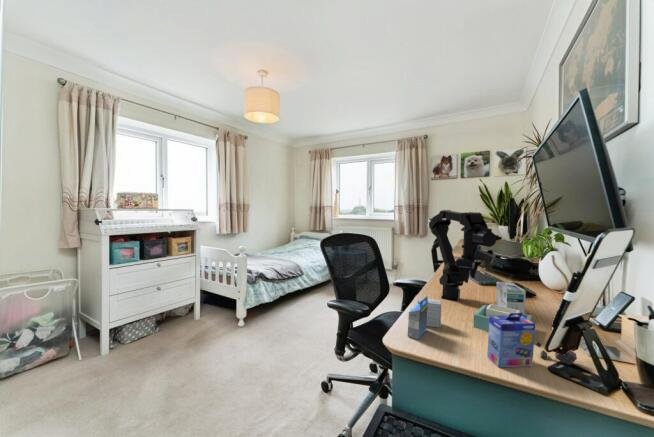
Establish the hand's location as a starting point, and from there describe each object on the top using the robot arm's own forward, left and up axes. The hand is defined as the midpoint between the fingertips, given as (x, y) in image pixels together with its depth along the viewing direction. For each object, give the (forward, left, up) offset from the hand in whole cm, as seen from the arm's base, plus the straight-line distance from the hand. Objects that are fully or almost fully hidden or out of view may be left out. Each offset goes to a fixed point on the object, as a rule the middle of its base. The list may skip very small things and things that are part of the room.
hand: (469, 280), depth 113 cm
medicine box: (-6, -26, -12) cm, 29 cm away
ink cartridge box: (+20, -34, -12) cm, 41 cm away
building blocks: (+29, -24, -12) cm, 40 cm away
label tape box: (-6, -36, -12) cm, 38 cm away
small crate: (+14, -11, -11) cm, 21 cm away
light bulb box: (+13, +8, -12) cm, 20 cm away
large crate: (+14, -11, -12) cm, 22 cm away
